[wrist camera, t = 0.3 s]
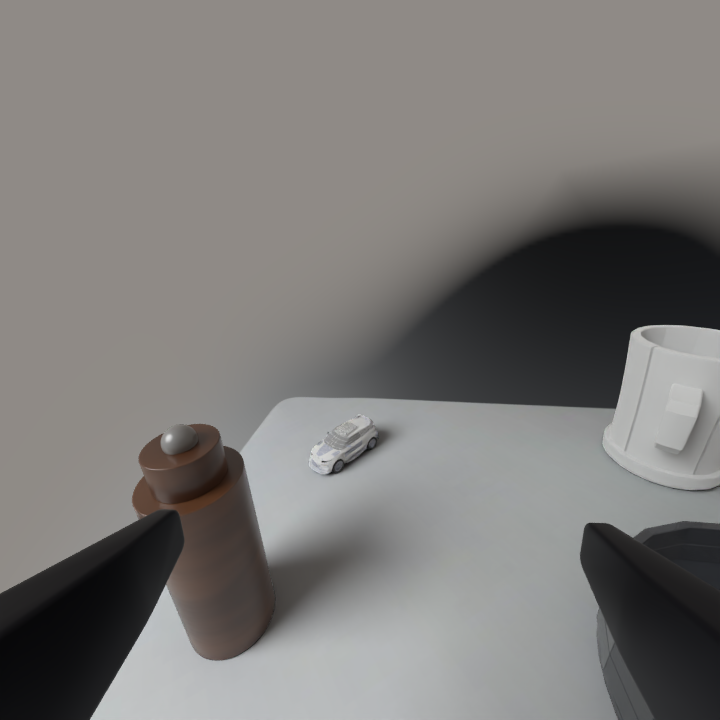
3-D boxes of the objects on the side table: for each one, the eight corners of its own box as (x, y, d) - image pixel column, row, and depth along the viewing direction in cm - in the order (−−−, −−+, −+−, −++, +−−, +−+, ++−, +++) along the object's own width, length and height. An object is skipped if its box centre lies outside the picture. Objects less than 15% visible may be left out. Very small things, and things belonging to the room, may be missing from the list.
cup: (773, 513, 26) (854, 373, 21) (642, 505, 27) (691, 371, 23) (675, 433, 36) (716, 323, 31) (582, 430, 37) (607, 324, 32)
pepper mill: (254, 667, 19) (191, 467, 13) (170, 653, 20) (79, 460, 14) (286, 576, 23) (250, 401, 18) (218, 568, 24) (163, 398, 19)
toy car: (302, 464, 34) (299, 440, 33) (359, 430, 39) (357, 407, 38) (325, 482, 32) (322, 456, 30) (382, 442, 37) (381, 419, 36)
